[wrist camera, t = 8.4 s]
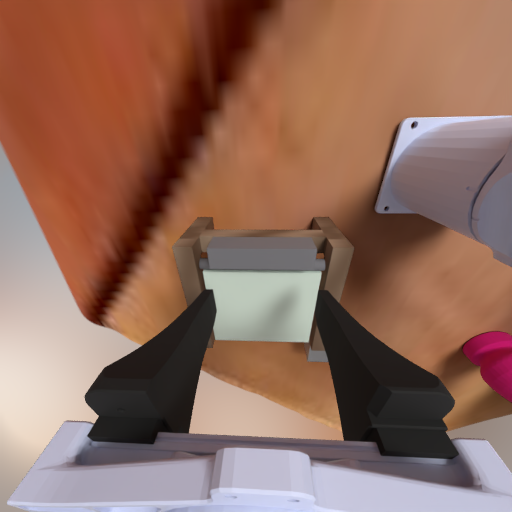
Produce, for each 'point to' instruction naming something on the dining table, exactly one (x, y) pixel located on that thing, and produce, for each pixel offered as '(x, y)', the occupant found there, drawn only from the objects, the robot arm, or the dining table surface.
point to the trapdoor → (263, 287)
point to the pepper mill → (493, 360)
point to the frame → (322, 235)
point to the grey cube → (314, 354)
